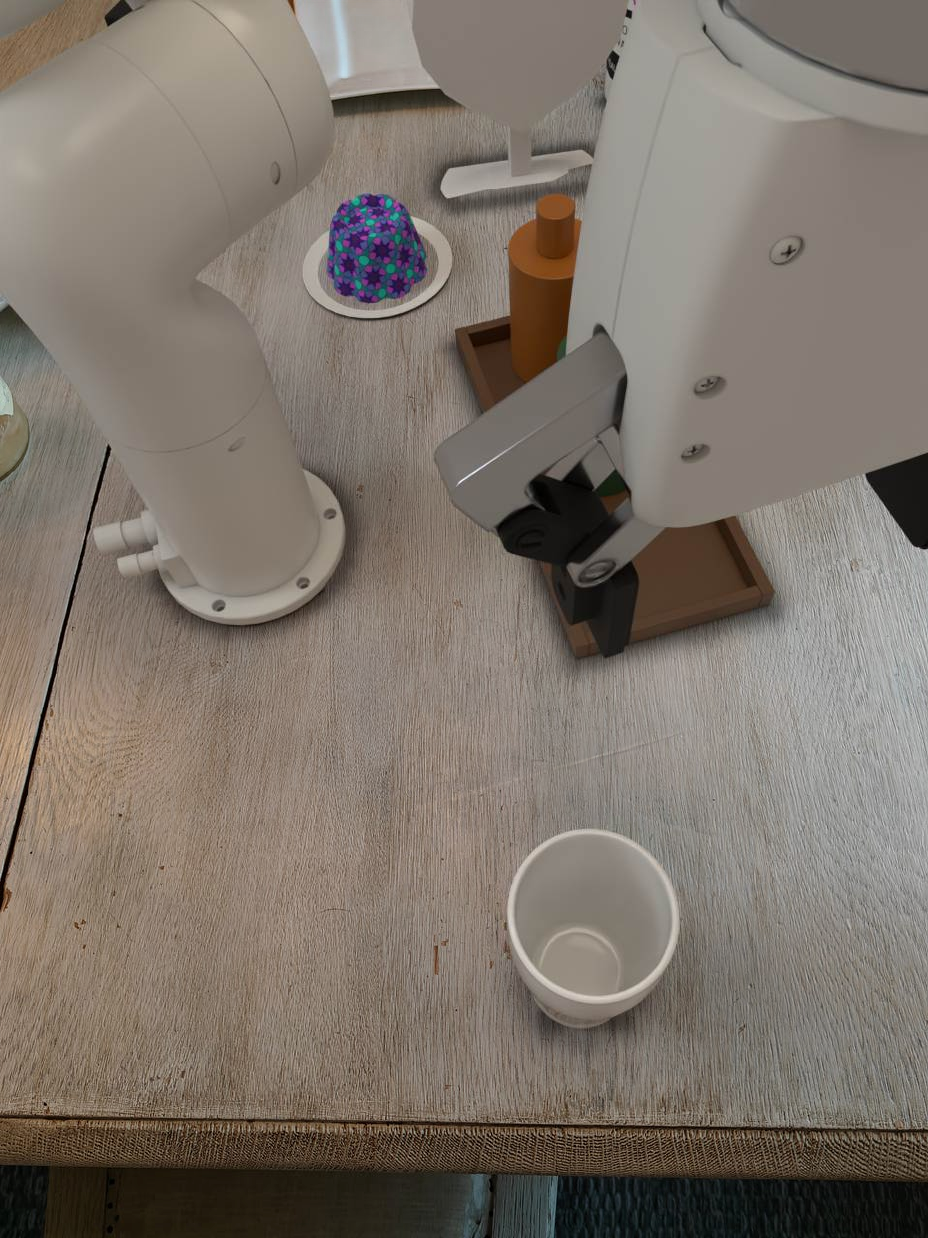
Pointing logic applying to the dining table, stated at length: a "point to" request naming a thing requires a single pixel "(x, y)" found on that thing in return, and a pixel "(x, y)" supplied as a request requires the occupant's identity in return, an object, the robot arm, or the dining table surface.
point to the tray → (671, 563)
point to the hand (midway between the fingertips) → (749, 560)
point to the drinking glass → (591, 925)
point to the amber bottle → (542, 284)
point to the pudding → (375, 256)
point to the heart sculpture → (514, 72)
